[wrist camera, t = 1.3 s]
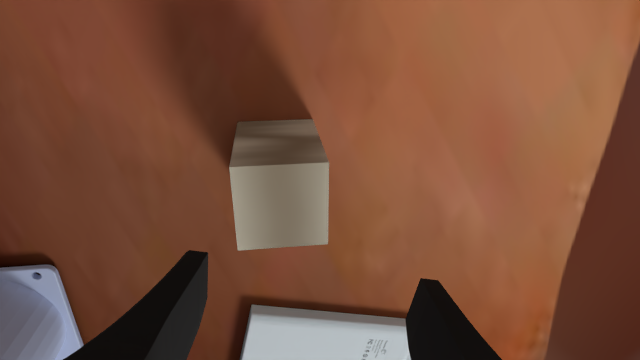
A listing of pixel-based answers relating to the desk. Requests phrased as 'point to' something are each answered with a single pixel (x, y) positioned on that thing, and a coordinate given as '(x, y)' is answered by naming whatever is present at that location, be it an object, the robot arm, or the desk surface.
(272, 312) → the external hard drive
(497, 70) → the desk surface
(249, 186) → the birch block
